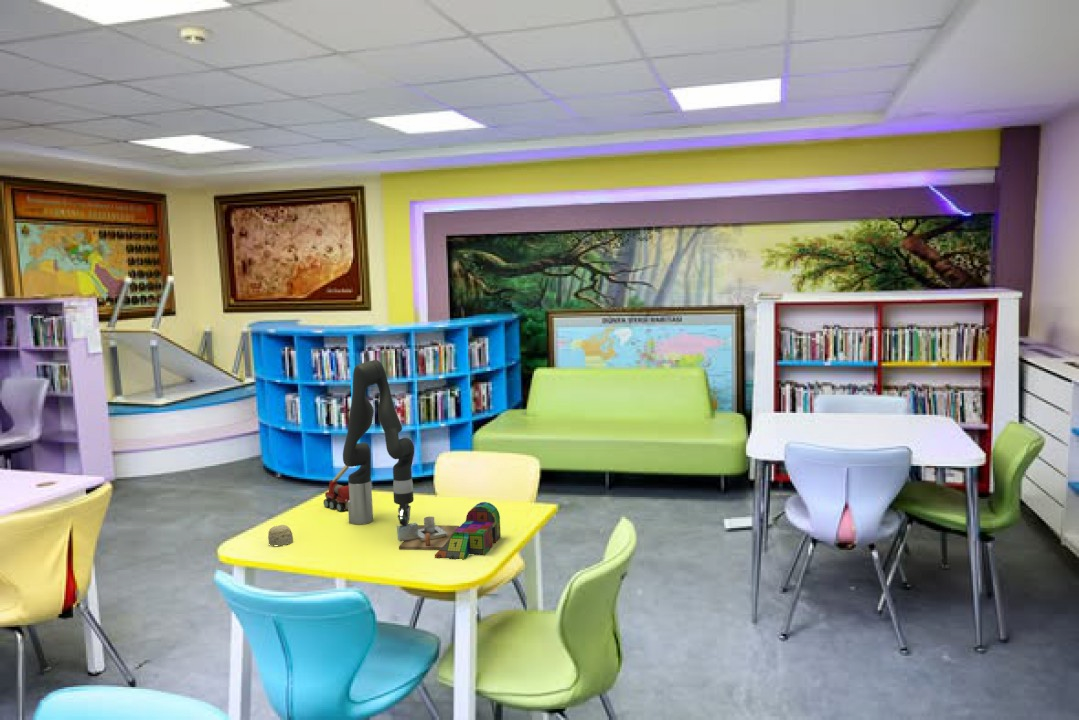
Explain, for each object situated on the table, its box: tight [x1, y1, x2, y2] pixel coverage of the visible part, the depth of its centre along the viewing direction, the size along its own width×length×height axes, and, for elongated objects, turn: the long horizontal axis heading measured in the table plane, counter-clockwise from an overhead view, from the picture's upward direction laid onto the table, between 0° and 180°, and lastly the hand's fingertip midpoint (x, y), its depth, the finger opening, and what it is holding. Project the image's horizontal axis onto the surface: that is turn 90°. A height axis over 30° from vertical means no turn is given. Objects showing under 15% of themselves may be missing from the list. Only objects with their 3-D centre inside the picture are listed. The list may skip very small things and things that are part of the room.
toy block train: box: [434, 501, 502, 561], centre depth 291 cm, size 25×17×14 cm
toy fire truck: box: [323, 464, 350, 513], centre depth 349 cm, size 11×16×18 cm
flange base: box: [398, 516, 460, 551], centre depth 303 cm, size 17×25×8 cm
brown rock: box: [267, 524, 294, 547], centre depth 304 cm, size 9×10×10 cm
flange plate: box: [396, 522, 447, 543], centre depth 301 cm, size 18×10×6 cm, turn 118°
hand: (405, 533), depth 303 cm, fingers closed
